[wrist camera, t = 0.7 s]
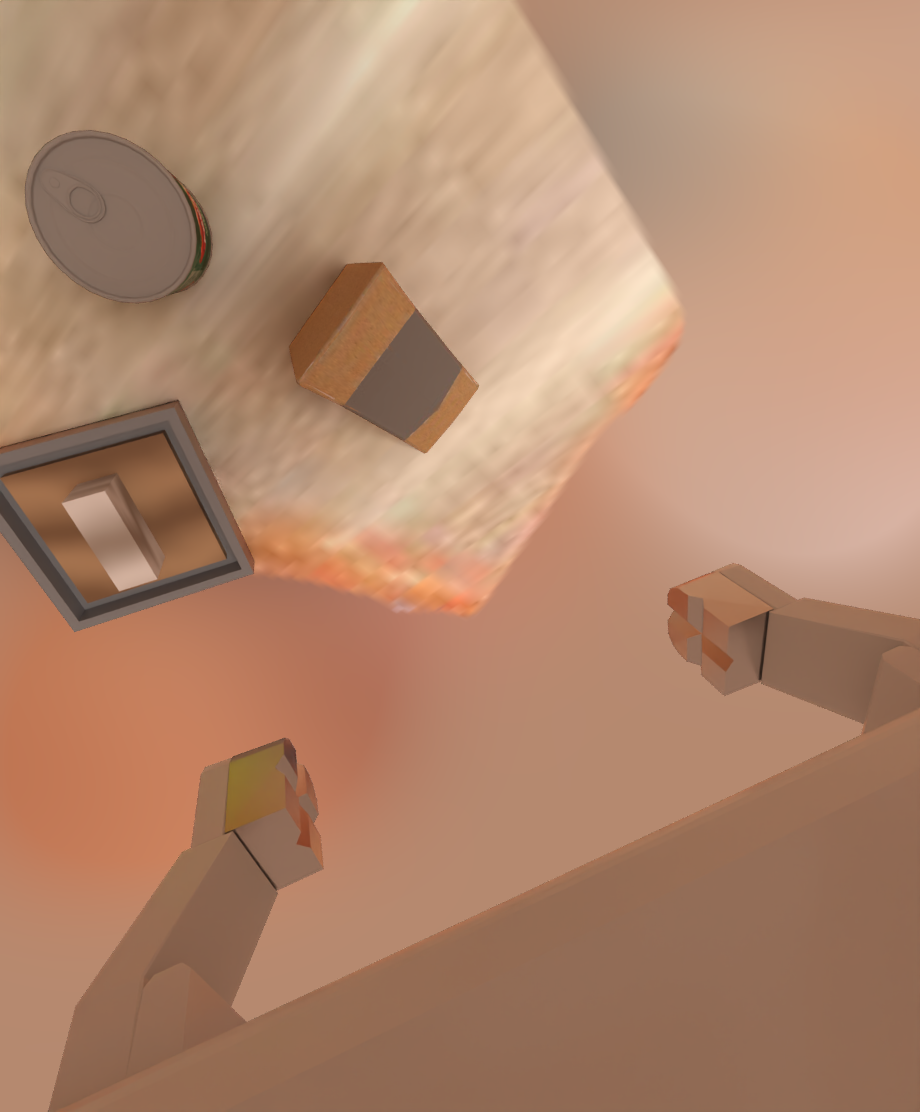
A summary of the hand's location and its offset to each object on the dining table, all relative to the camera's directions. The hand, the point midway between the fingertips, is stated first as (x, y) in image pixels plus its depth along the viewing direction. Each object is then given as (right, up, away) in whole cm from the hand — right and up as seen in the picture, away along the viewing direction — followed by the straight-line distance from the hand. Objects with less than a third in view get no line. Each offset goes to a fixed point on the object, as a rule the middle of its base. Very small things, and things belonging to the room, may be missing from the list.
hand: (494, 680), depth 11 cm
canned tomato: (-23, +25, +27) cm, 44 cm away
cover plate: (-29, +6, +35) cm, 46 cm away
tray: (-29, +6, +35) cm, 46 cm away
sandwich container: (-7, +19, +37) cm, 42 cm away
